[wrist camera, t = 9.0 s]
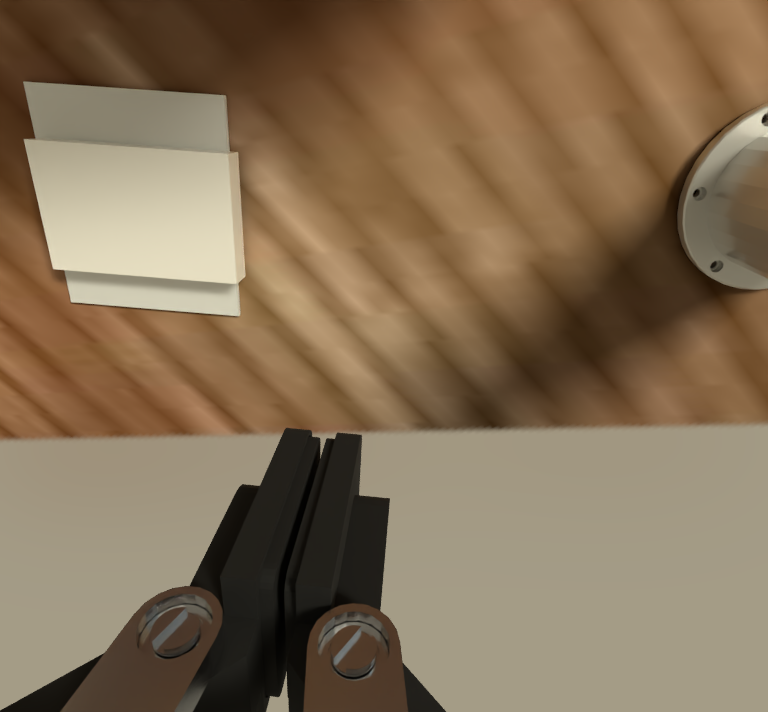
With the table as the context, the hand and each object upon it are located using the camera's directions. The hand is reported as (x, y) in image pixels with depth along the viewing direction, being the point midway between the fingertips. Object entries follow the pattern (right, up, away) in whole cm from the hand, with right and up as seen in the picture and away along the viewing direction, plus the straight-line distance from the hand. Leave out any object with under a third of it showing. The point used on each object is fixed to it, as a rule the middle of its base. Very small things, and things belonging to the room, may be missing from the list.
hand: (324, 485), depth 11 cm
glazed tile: (-9, +13, +25) cm, 30 cm away
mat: (-17, +14, +27) cm, 35 cm away
